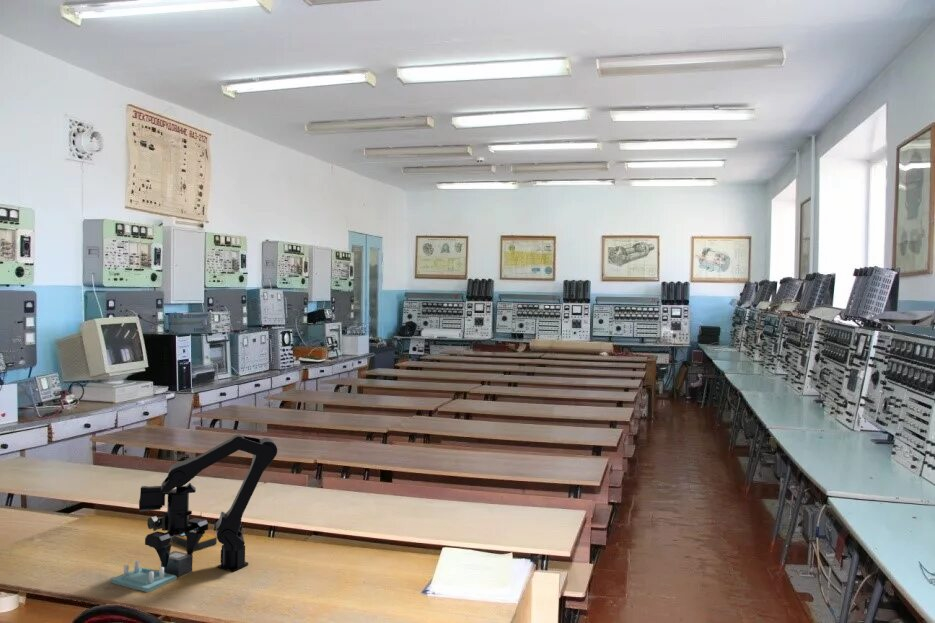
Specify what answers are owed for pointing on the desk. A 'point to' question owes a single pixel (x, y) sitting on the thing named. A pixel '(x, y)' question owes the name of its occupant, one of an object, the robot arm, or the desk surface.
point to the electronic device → (203, 542)
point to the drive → (178, 564)
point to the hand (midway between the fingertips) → (177, 561)
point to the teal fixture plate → (143, 578)
